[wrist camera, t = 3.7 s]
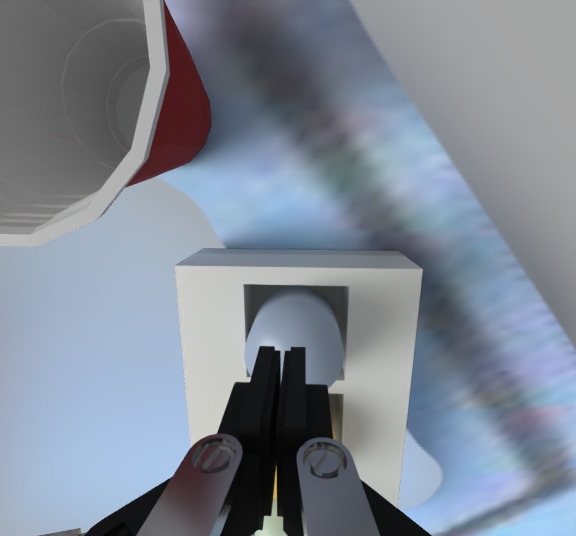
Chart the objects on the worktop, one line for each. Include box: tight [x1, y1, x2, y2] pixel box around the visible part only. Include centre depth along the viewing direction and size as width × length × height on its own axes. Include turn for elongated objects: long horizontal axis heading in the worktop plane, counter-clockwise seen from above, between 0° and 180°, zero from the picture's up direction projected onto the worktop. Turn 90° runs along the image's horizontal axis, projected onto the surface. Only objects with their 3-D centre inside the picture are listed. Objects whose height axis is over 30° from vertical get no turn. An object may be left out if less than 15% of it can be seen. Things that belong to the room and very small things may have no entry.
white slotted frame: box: [175, 248, 423, 536], centre depth 20 cm, size 12×19×4 cm, turn 0°
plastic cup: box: [0, 0, 211, 247], centre depth 13 cm, size 11×11×12 cm
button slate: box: [244, 286, 344, 388], centre depth 16 cm, size 4×4×4 cm
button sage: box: [255, 499, 287, 536], centre depth 19 cm, size 4×4×4 cm
